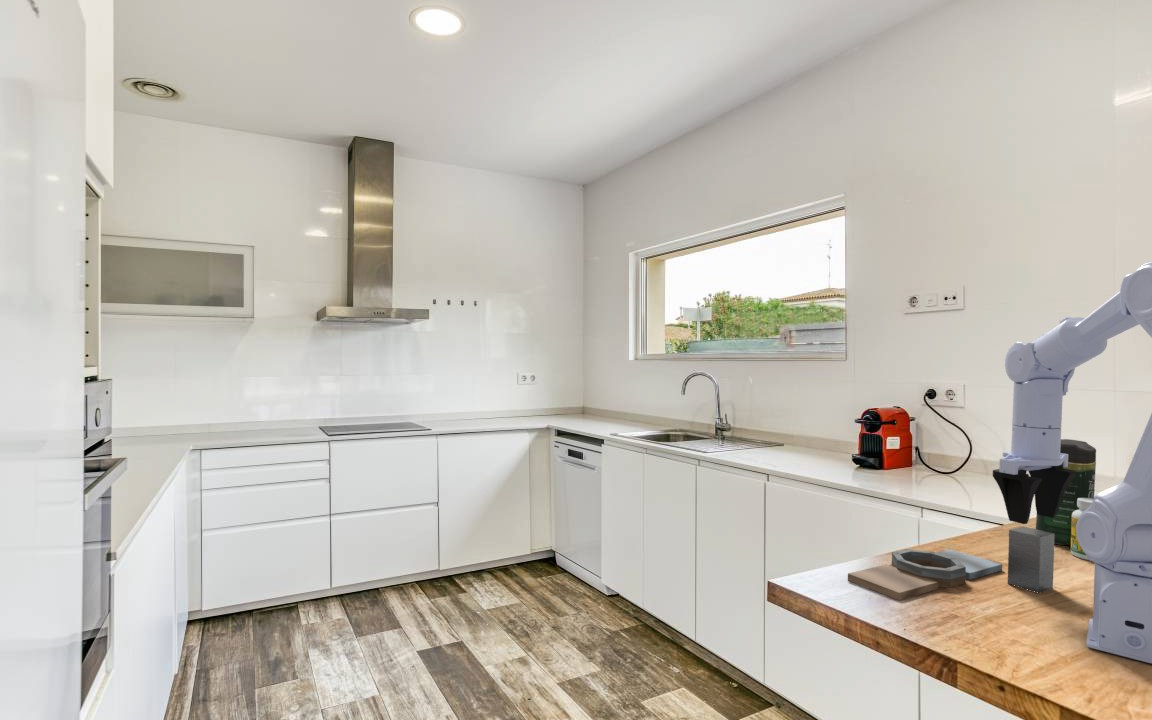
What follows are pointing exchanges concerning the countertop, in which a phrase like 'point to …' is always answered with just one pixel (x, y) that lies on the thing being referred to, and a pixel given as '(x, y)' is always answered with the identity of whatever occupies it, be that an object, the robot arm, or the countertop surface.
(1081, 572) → the countertop surface
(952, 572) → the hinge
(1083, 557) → the supplement bottle
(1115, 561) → the robot arm
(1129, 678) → the countertop surface
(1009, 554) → the grey metal brick
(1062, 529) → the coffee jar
